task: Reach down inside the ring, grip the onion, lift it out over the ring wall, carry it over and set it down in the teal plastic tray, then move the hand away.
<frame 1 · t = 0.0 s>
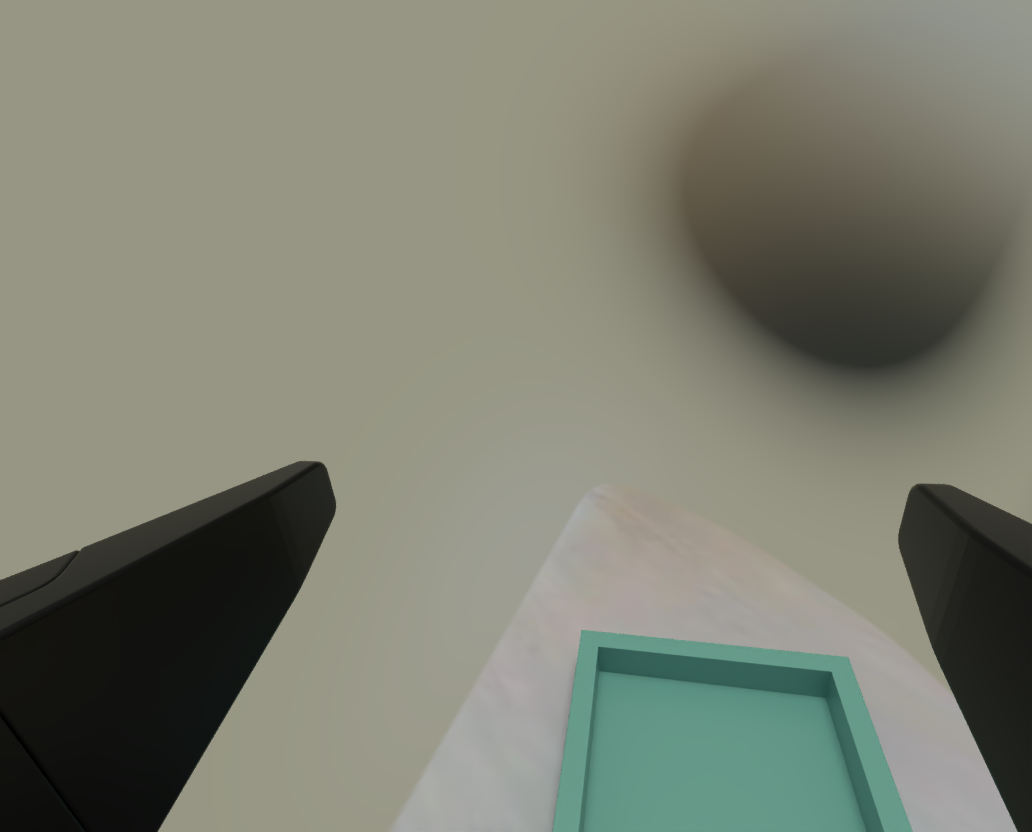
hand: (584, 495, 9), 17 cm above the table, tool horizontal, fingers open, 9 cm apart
tray: (717, 811, 20), on the table
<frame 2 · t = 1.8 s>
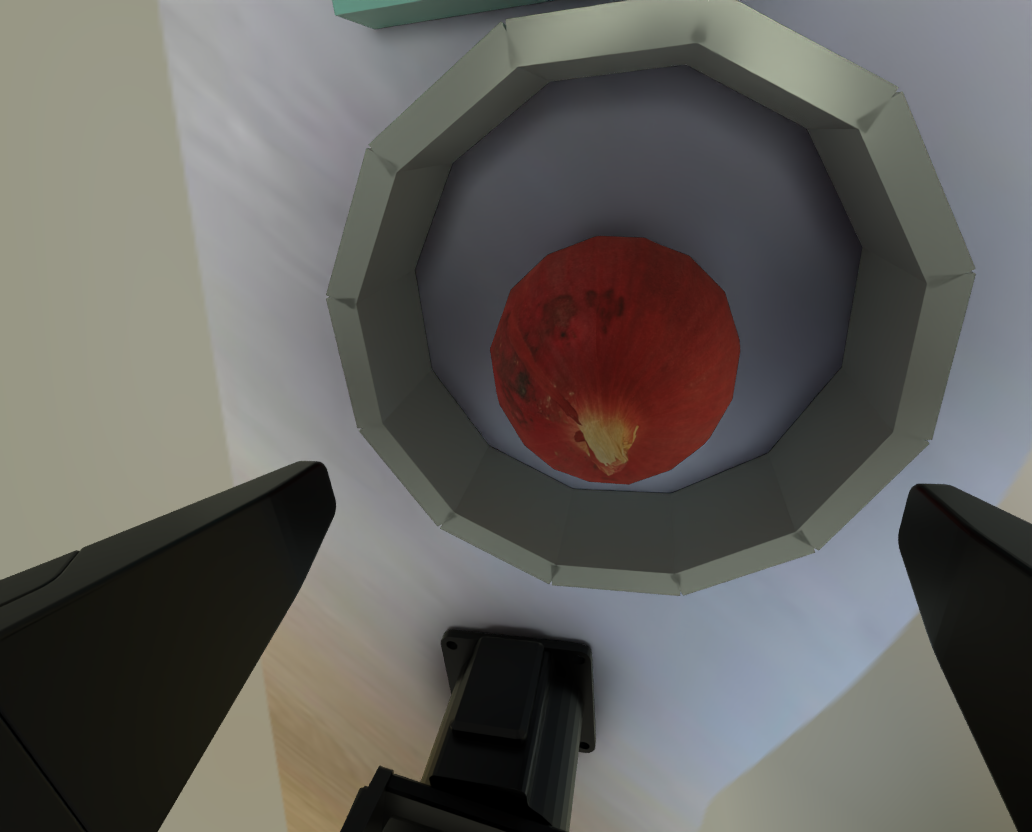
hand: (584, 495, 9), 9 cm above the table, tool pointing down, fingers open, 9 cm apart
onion: (619, 314, 17), resting in ring
ring: (619, 316, 17), on the table
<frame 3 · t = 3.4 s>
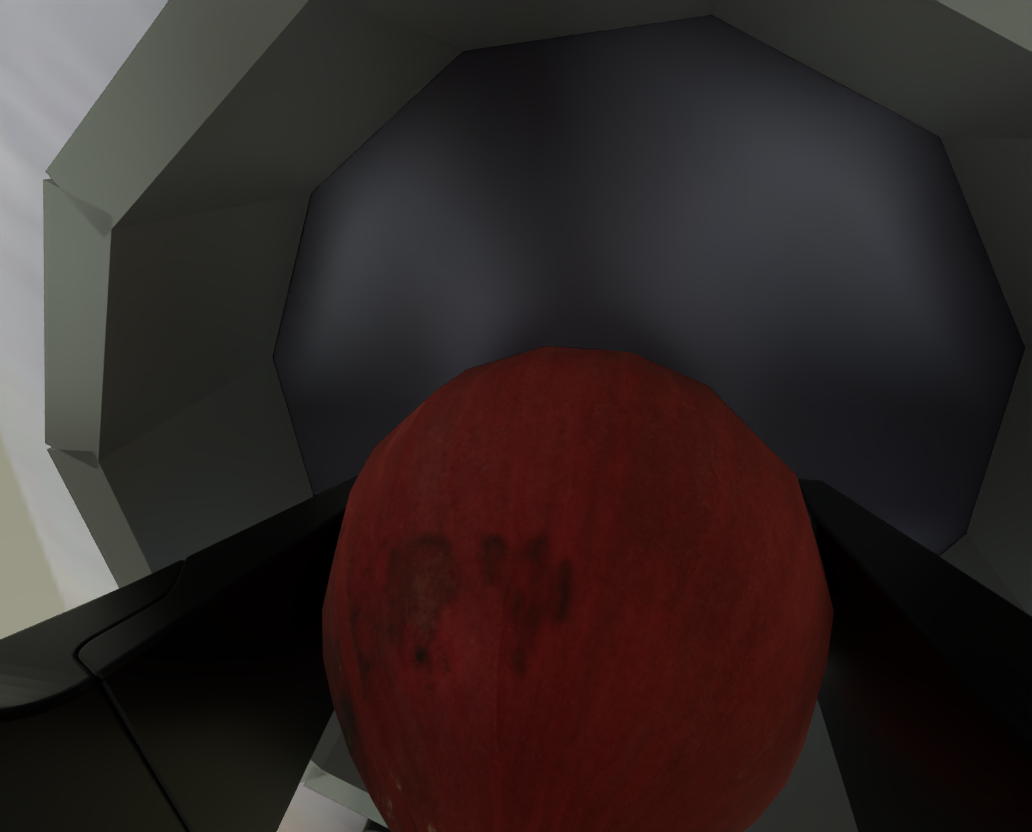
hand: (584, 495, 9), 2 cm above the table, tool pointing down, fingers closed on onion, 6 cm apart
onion: (596, 434, 11), resting in ring, touching gripper
ring: (594, 439, 10), on the table
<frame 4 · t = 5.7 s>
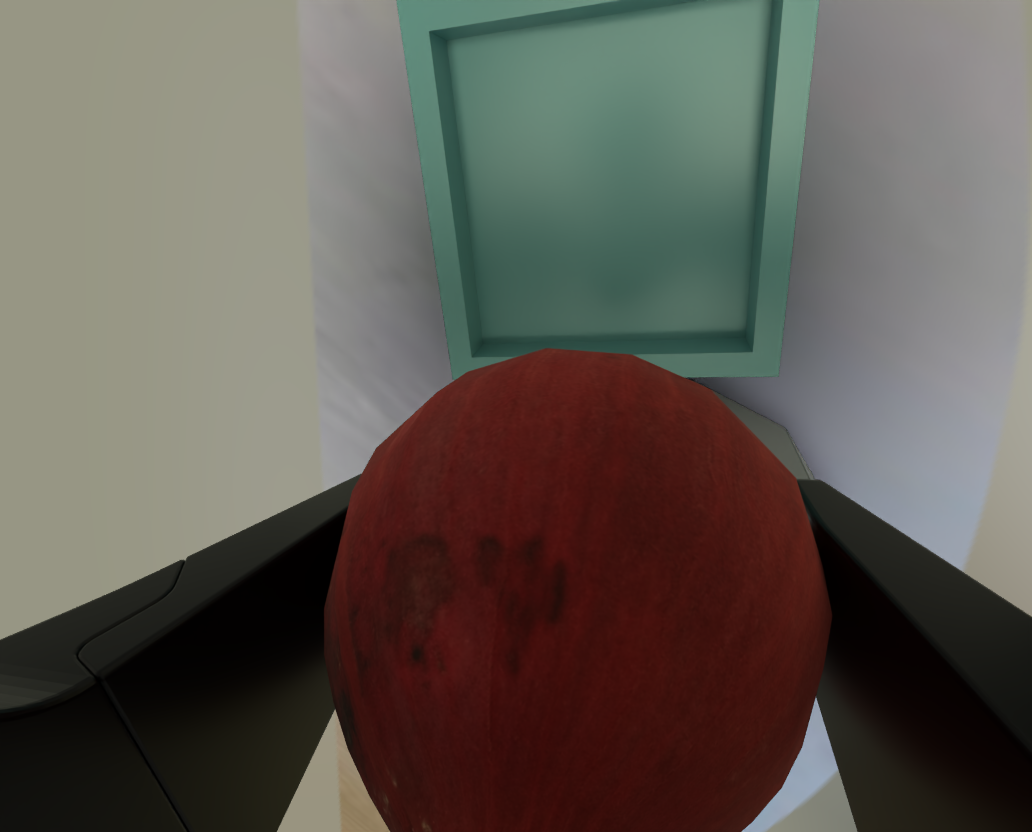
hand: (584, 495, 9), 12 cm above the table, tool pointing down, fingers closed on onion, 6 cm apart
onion: (600, 435, 11), point 10 cm above the table, touching gripper
ring: (637, 538, 23), on the table
tray: (605, 195, 18), on the table
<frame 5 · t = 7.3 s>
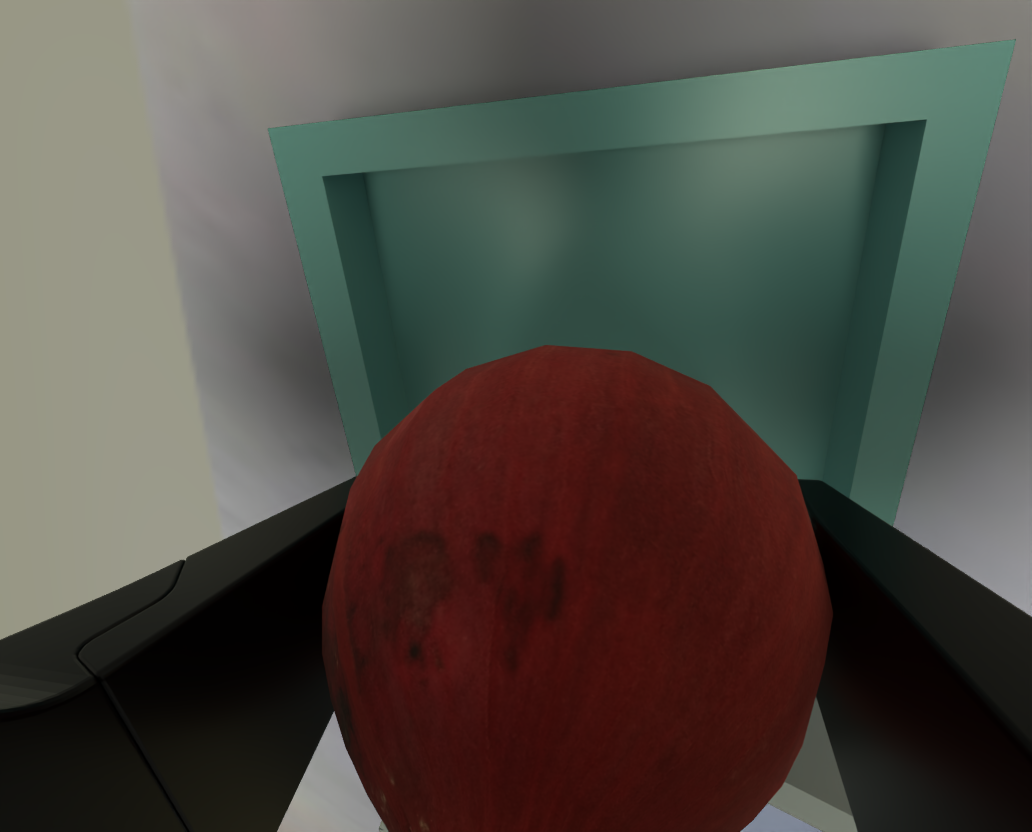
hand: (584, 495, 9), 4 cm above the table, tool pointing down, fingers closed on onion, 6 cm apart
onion: (599, 433, 11), point 2 cm above the table, touching gripper
ring: (644, 767, 18), on the table
tray: (604, 382, 12), on the table
when the fingers open (3 cm above the table, at t = 8.3 s): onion stays where it is, resting on tray.
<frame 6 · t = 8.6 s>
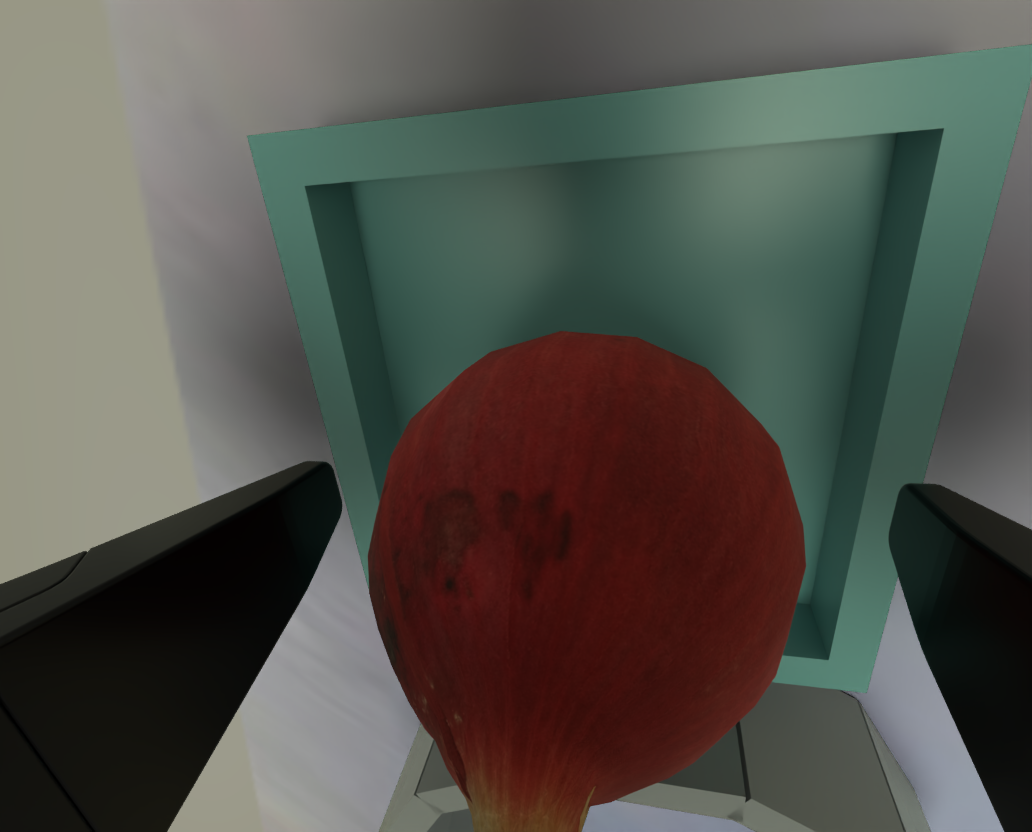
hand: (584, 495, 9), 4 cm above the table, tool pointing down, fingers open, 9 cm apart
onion: (612, 409, 11), resting on tray
ring: (644, 790, 18), on the table
tray: (602, 398, 12), on the table
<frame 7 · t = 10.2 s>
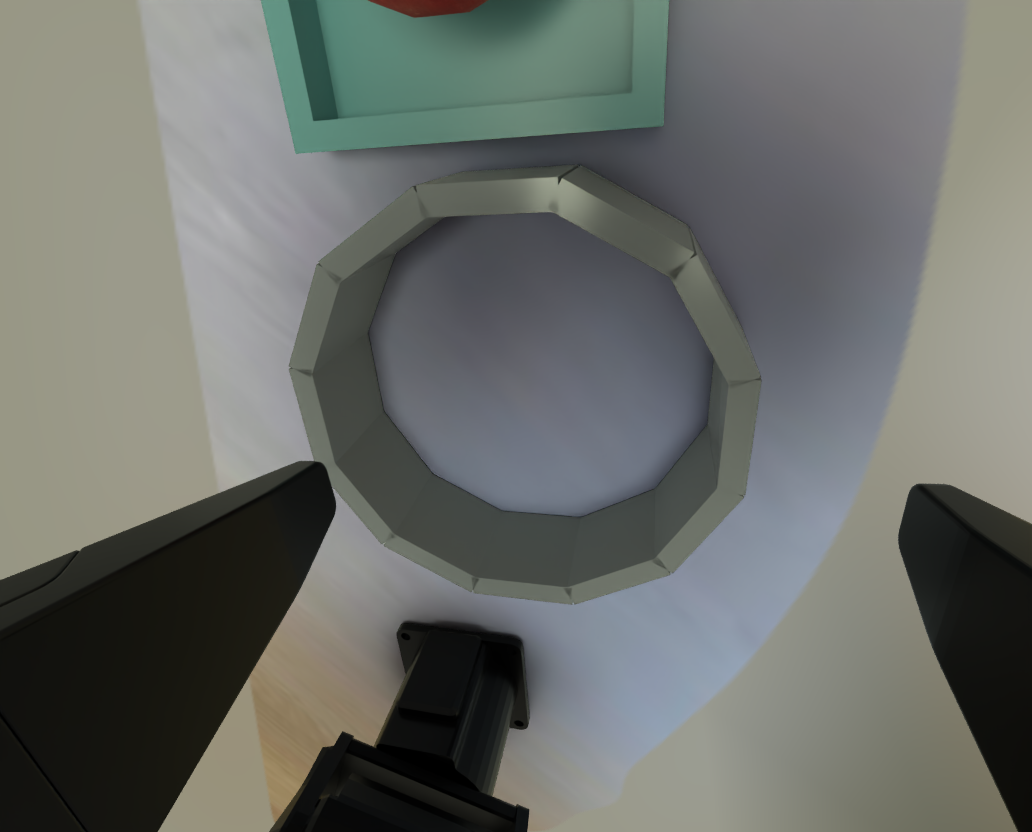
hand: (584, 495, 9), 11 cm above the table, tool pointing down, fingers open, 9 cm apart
ring: (532, 377, 21), on the table
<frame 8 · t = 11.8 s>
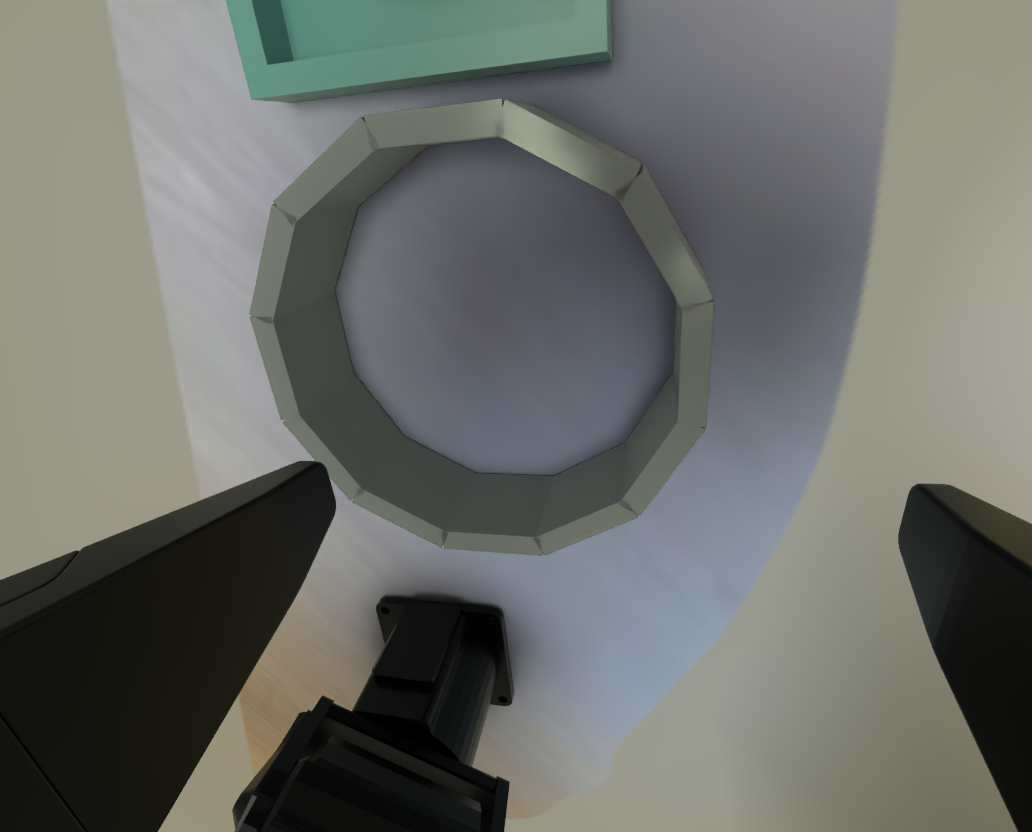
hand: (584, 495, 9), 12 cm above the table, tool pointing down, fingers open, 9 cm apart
ring: (498, 329, 21), on the table
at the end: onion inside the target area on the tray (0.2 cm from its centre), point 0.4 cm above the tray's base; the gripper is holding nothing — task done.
